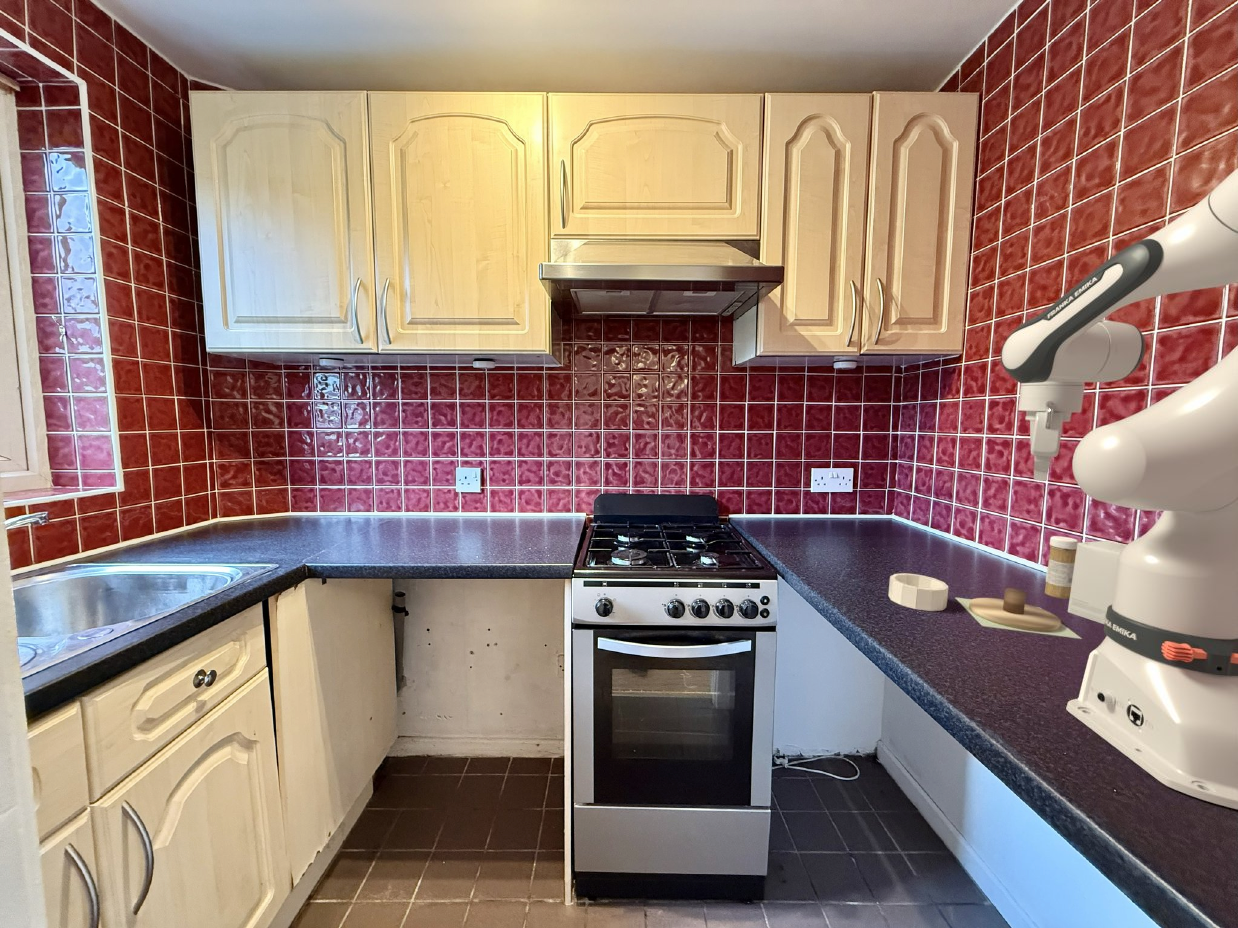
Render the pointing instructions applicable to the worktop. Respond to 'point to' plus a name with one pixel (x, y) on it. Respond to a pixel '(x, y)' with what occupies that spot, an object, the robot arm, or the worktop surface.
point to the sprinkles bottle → (1060, 566)
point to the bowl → (918, 592)
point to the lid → (1015, 612)
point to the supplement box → (1094, 579)
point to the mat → (1061, 632)
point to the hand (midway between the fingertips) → (1039, 477)
